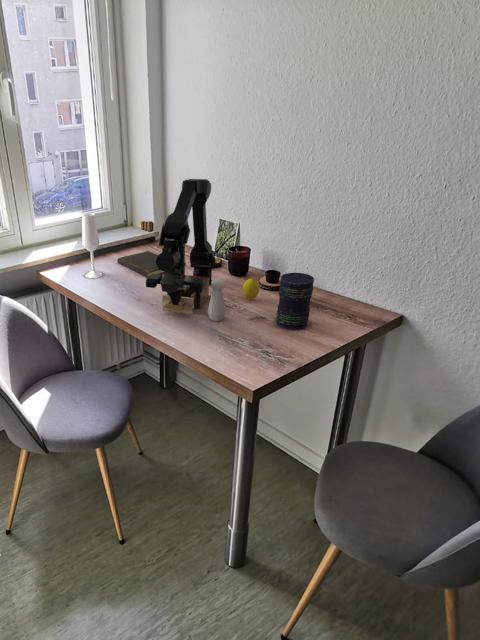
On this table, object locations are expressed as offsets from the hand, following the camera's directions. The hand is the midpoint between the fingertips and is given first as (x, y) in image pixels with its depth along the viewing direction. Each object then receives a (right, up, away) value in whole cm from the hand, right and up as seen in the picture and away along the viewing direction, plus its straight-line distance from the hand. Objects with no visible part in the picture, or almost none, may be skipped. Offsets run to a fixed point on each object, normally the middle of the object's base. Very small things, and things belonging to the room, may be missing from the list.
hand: (175, 308), depth 164 cm
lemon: (+27, +4, +12) cm, 30 cm away
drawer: (+2, +1, +5) cm, 6 cm away
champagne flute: (-31, +19, +40) cm, 54 cm away
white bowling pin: (+13, -4, 0) cm, 14 cm away
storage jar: (+36, -6, -6) cm, 37 cm away
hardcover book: (-9, +24, +46) cm, 53 cm away
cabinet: (+5, +5, +13) cm, 15 cm away
